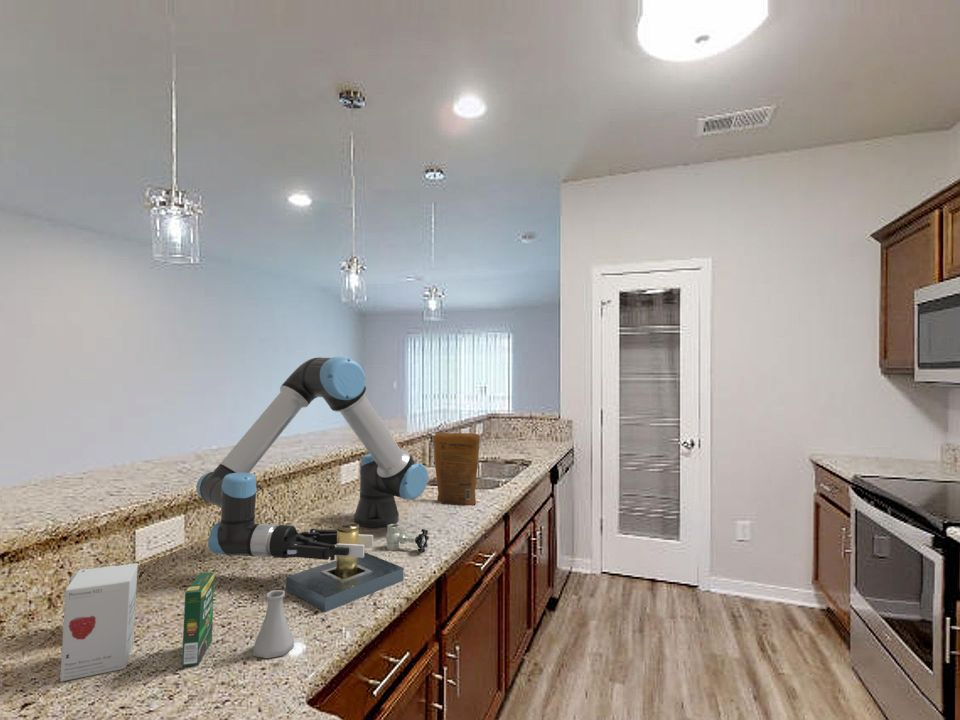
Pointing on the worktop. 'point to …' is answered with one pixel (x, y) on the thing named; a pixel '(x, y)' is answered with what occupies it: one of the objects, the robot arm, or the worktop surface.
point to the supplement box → (98, 621)
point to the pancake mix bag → (456, 467)
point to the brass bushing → (347, 535)
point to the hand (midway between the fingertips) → (368, 545)
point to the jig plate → (343, 582)
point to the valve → (404, 538)
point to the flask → (274, 629)
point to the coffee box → (198, 619)
